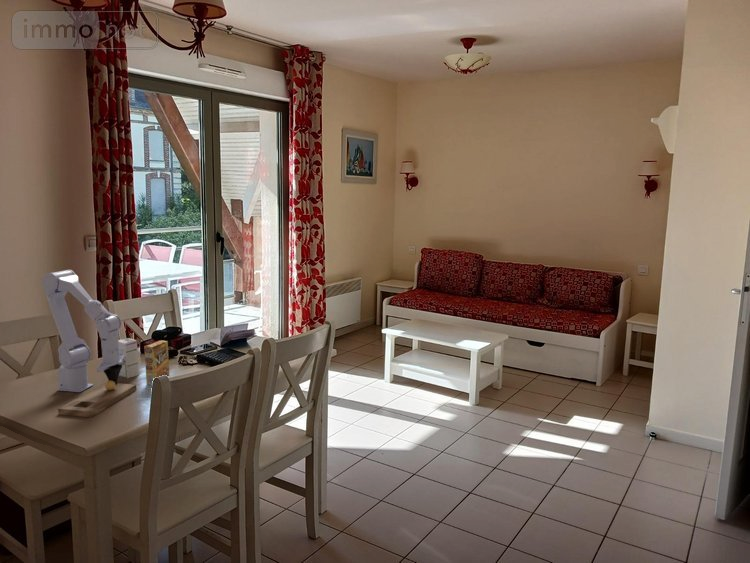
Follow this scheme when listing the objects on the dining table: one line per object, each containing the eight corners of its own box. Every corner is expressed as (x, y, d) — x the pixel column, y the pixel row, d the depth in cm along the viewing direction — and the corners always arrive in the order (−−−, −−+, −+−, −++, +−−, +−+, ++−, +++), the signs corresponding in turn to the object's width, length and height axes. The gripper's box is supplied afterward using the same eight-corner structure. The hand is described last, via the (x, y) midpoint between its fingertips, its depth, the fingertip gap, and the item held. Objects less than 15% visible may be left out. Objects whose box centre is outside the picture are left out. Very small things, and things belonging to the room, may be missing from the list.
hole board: (58, 414, 194) (57, 408, 194) (106, 387, 220) (106, 382, 219) (91, 417, 192) (90, 411, 192) (136, 389, 218) (136, 384, 217)
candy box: (155, 386, 222) (153, 346, 219) (145, 384, 223) (143, 345, 221) (170, 378, 230) (168, 340, 228) (161, 377, 232) (159, 339, 229)
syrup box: (139, 374, 234) (137, 339, 232) (126, 378, 229) (124, 343, 227) (130, 372, 237) (128, 337, 235) (117, 376, 232) (115, 340, 230)
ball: (104, 391, 211) (101, 384, 209) (109, 385, 214) (107, 377, 212) (113, 392, 211) (110, 385, 209) (118, 386, 214) (116, 379, 212)
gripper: (108, 355, 203) (111, 392, 205) (132, 343, 217) (134, 379, 219) (89, 354, 204) (93, 391, 206) (114, 343, 218) (117, 378, 221)
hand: (113, 385), depth 213 cm, fingers closed, pressing on ball
